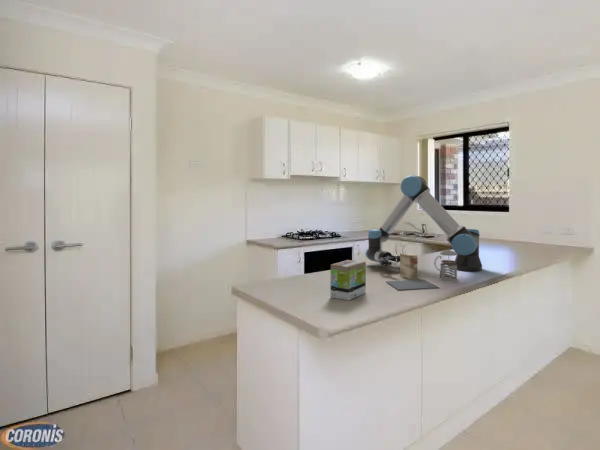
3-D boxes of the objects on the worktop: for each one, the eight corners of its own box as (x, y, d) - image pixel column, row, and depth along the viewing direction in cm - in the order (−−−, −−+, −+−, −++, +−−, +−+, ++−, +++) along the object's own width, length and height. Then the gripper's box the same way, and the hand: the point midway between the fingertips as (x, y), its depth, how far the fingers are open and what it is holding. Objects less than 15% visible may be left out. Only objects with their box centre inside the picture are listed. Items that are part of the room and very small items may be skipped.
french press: (461, 282, 178) (461, 232, 176) (436, 282, 180) (436, 232, 178) (456, 278, 187) (457, 230, 185) (433, 277, 190) (433, 230, 188)
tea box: (350, 301, 152) (349, 266, 151) (329, 297, 158) (329, 264, 157) (366, 293, 164) (366, 260, 163) (347, 290, 170) (346, 258, 169)
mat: (424, 280, 185) (424, 279, 185) (439, 288, 169) (439, 287, 169) (386, 282, 182) (386, 281, 182) (398, 290, 167) (398, 289, 167)
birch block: (407, 274, 199) (407, 252, 198) (417, 277, 191) (417, 255, 190) (400, 275, 197) (400, 253, 196) (409, 278, 189) (409, 255, 188)
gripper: (401, 261, 219) (425, 268, 199) (365, 265, 210) (386, 272, 190) (401, 249, 218) (425, 254, 199) (365, 252, 210) (386, 258, 190)
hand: (406, 263), depth 195 cm, fingers open, 13 cm apart
